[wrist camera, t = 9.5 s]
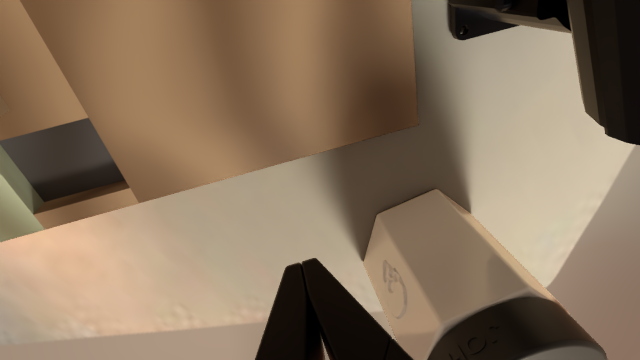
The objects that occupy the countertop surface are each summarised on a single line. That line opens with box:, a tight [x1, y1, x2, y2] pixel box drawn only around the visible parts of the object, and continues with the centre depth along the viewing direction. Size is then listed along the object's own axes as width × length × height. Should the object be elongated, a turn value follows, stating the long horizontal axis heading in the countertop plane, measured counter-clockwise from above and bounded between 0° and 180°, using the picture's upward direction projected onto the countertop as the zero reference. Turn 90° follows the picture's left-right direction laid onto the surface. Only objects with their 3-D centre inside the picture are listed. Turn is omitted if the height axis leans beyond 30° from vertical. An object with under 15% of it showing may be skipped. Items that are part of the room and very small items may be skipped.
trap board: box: [0, 0, 419, 242], centre depth 15 cm, size 25×16×4 cm, turn 101°
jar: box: [363, 189, 607, 360], centre depth 21 cm, size 9×8×12 cm
